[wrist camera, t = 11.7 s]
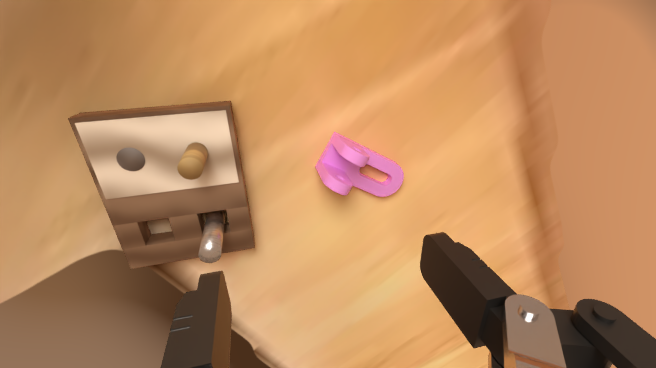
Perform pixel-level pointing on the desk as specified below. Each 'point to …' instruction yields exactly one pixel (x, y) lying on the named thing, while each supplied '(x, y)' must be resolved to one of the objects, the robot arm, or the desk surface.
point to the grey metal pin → (212, 236)
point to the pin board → (167, 176)
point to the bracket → (356, 168)
